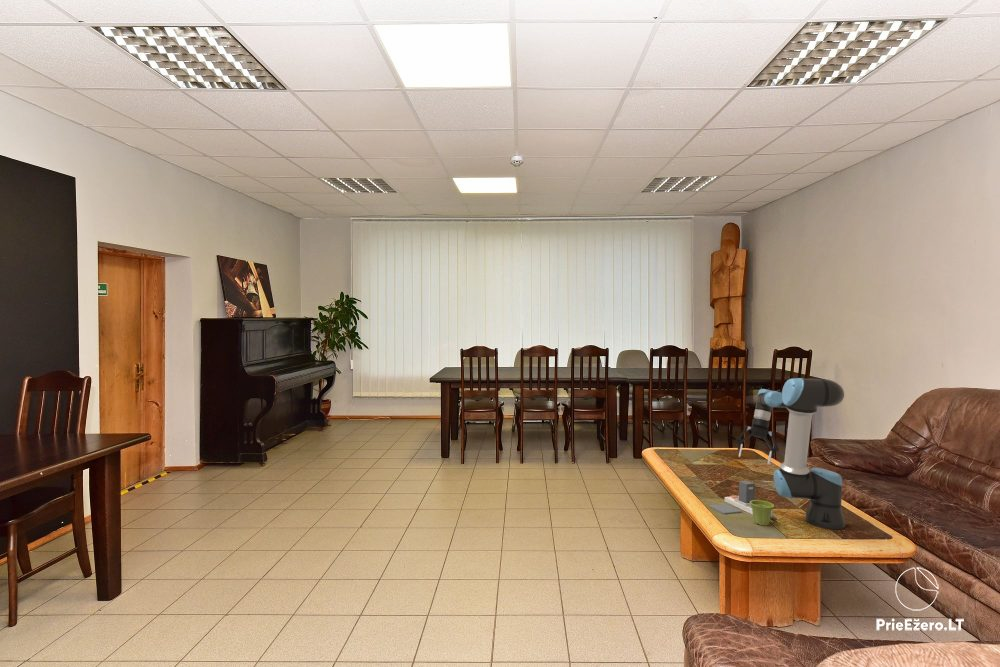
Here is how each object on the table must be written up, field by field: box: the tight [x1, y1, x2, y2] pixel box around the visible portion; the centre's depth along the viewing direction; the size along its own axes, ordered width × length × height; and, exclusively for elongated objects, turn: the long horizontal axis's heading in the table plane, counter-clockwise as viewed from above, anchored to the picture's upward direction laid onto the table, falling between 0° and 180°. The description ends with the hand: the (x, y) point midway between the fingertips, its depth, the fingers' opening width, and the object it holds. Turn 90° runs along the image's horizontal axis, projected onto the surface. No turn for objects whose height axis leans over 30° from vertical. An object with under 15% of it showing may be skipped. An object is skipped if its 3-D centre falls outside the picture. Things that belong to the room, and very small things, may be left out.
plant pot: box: [750, 499, 775, 526], centre depth 237 cm, size 9×9×9 cm
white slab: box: [724, 494, 778, 521], centre depth 253 cm, size 28×8×3 cm, turn 17°
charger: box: [738, 480, 756, 503], centre depth 256 cm, size 5×5×10 cm
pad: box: [708, 503, 743, 515], centre depth 253 cm, size 10×10×1 cm
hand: (753, 460), depth 274 cm, fingers open, 13 cm apart
